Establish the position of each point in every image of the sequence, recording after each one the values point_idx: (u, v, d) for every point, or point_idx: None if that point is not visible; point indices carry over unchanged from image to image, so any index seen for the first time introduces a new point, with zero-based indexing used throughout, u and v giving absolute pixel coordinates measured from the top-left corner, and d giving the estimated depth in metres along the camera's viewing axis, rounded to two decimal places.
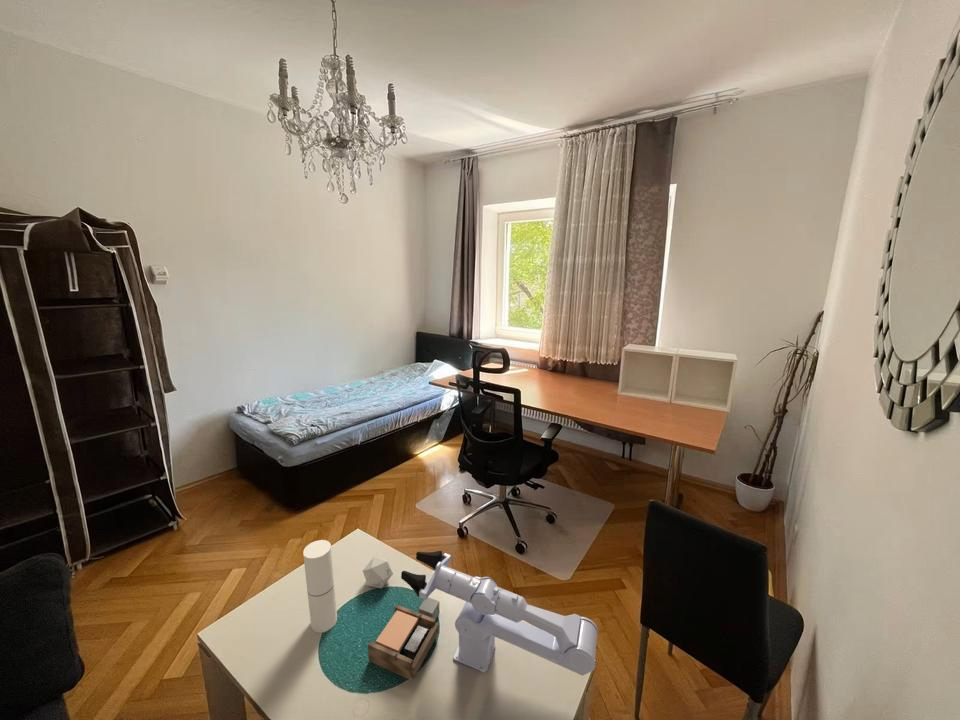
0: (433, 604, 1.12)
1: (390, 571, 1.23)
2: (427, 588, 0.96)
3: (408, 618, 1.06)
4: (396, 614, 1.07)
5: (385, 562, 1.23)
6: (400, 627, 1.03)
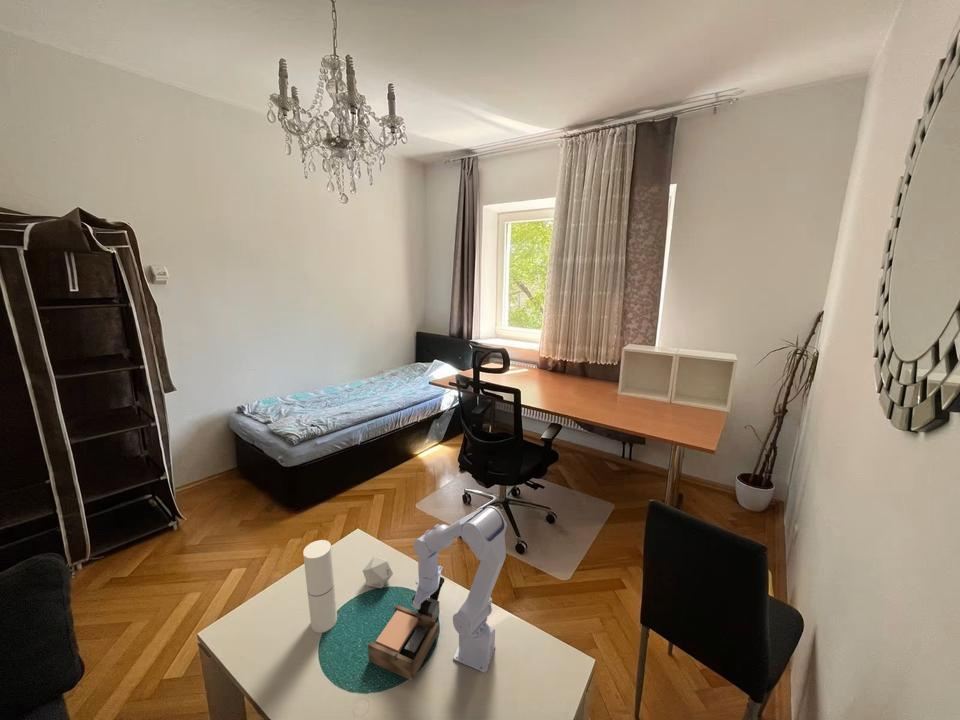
0: (433, 604, 1.12)
1: (390, 571, 1.23)
2: None
3: (408, 618, 1.06)
4: (396, 614, 1.07)
5: (385, 562, 1.23)
6: (400, 627, 1.03)
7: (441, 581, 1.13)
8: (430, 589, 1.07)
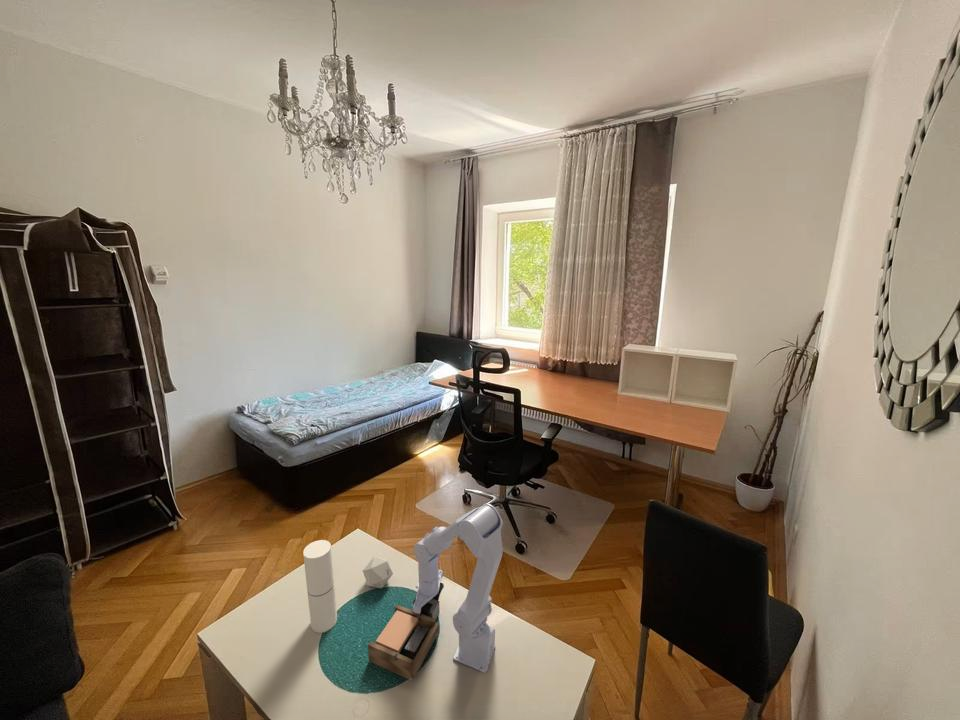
0: (433, 603, 1.11)
1: (390, 571, 1.23)
2: None
3: (408, 618, 1.06)
4: (396, 614, 1.07)
5: (385, 562, 1.23)
6: (400, 627, 1.03)
7: (441, 585, 1.13)
8: (430, 593, 1.07)
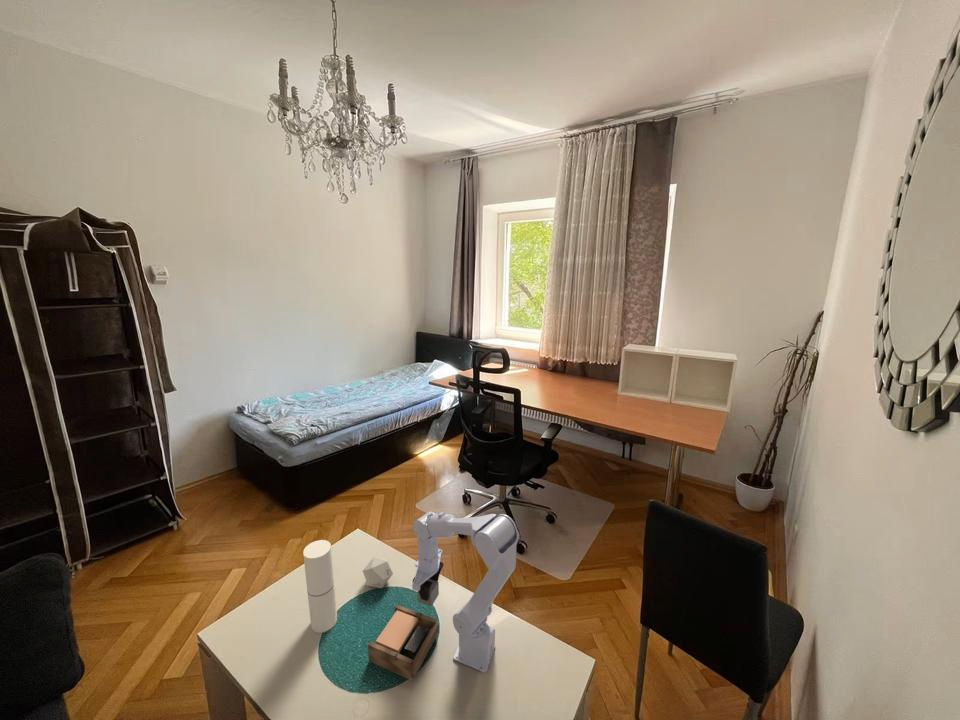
0: (432, 584, 1.10)
1: (390, 571, 1.23)
2: None
3: (408, 618, 1.06)
4: (396, 614, 1.07)
5: (385, 562, 1.23)
6: (400, 627, 1.03)
7: (441, 564, 1.12)
8: (430, 571, 1.05)
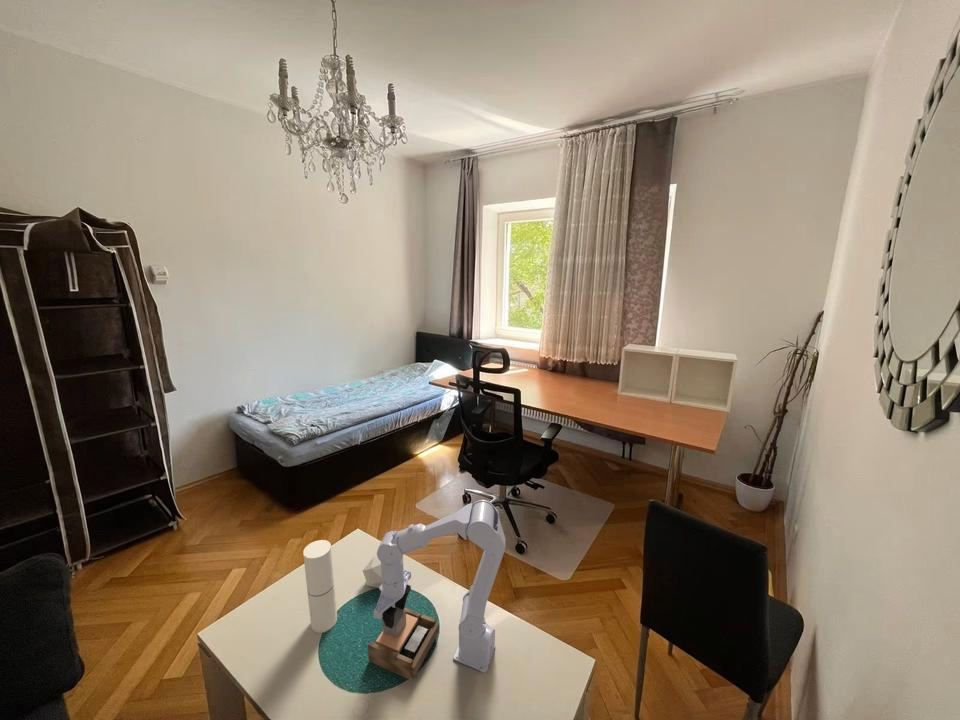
0: (398, 613, 1.02)
1: None
2: None
3: (408, 618, 1.06)
4: None
5: None
6: None
7: (408, 587, 1.03)
8: (394, 596, 0.97)
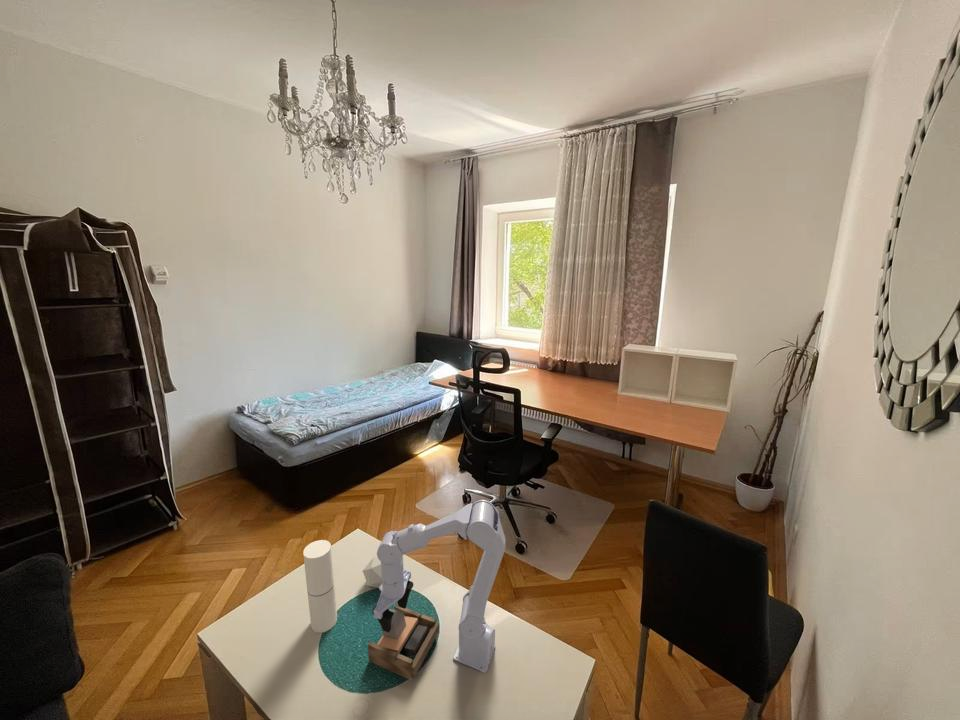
0: (396, 615, 1.02)
1: None
2: None
3: (408, 619, 1.06)
4: None
5: None
6: None
7: (408, 587, 1.03)
8: (394, 596, 0.97)
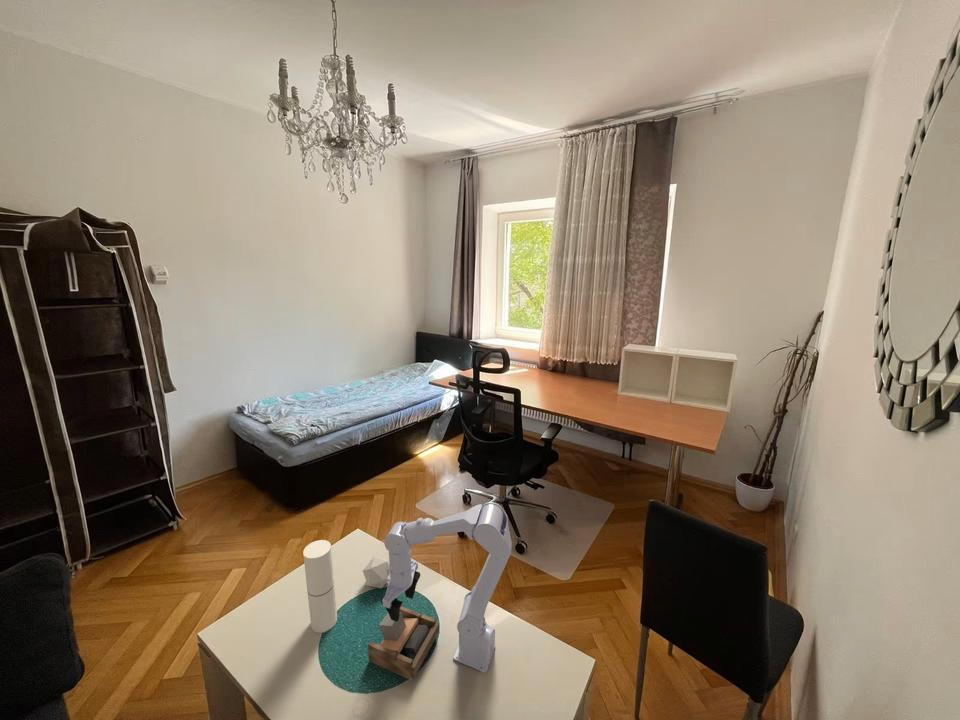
0: None
1: None
2: None
3: (408, 620, 1.06)
4: None
5: (385, 562, 1.23)
6: None
7: (416, 577, 1.05)
8: (402, 586, 0.99)
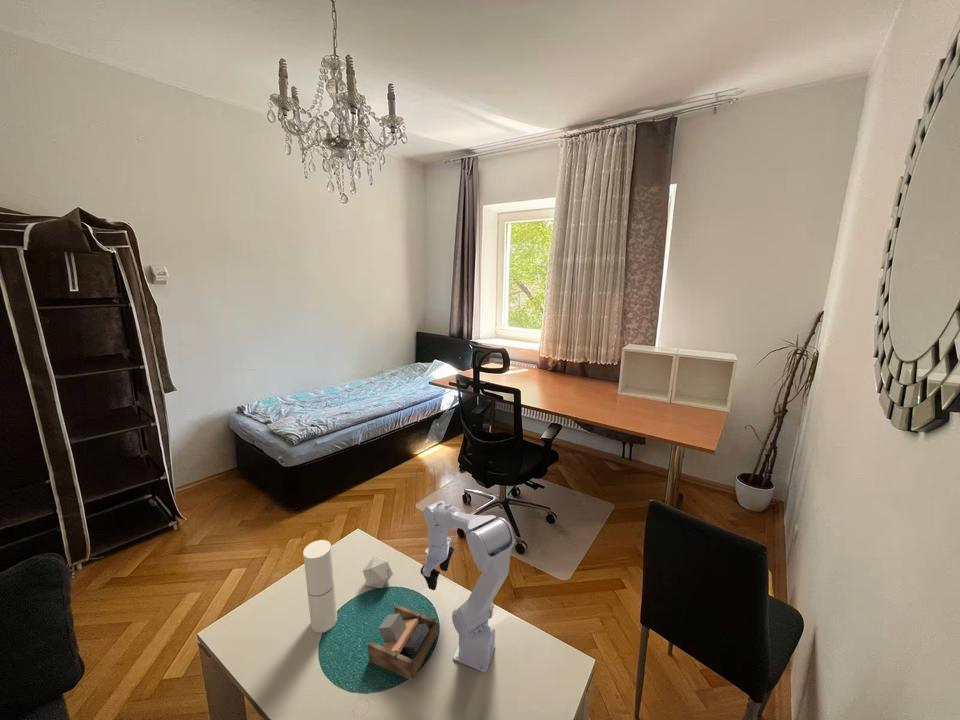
0: (393, 618, 1.03)
1: (390, 571, 1.23)
2: None
3: (408, 622, 1.06)
4: None
5: (385, 562, 1.23)
6: None
7: (450, 551, 1.14)
8: (439, 558, 1.08)
